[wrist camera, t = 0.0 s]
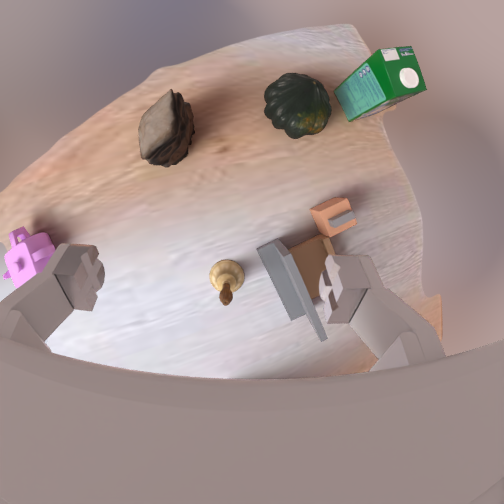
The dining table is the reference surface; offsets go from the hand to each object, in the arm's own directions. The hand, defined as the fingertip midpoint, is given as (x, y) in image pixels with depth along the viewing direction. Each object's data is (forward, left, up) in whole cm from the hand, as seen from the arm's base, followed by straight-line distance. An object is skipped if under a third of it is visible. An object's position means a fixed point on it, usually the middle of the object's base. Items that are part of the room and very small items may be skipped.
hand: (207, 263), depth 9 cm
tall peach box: (-12, -19, -54) cm, 59 cm away
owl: (+21, +6, -55) cm, 59 cm away
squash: (+14, -22, -55) cm, 61 cm away
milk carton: (+11, -39, -55) cm, 68 cm away
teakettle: (+13, +57, -55) cm, 80 cm away
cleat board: (-22, -8, -54) cm, 59 cm away
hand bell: (-15, +9, -55) cm, 57 cm away
